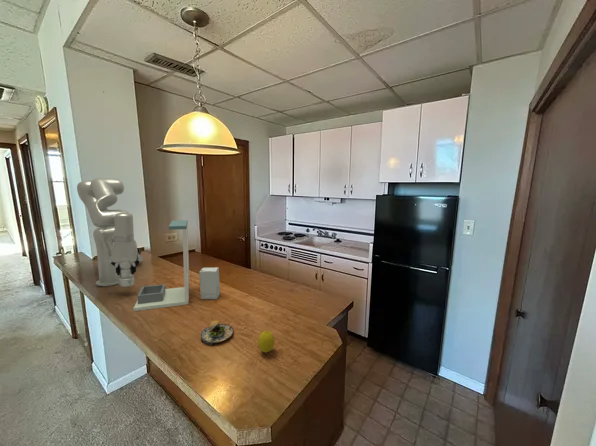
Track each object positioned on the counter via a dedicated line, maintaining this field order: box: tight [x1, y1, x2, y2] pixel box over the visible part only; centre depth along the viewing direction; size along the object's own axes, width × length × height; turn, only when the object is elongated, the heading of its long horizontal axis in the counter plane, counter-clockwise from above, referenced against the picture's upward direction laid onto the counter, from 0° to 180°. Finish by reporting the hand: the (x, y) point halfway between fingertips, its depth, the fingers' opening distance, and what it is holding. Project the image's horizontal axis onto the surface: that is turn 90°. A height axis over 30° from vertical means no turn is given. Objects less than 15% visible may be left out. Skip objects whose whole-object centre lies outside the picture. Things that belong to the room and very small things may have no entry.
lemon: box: [257, 330, 275, 354], centre depth 85 cm, size 6×6×8 cm
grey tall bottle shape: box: [118, 257, 135, 288], centre depth 123 cm, size 6×7×20 cm
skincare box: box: [198, 267, 221, 300], centre depth 125 cm, size 8×6×15 cm
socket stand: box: [132, 219, 190, 312], centre depth 119 cm, size 18×22×38 cm
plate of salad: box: [200, 318, 234, 347], centre depth 94 cm, size 12×12×8 cm
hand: (126, 273), depth 123 cm, fingers closed on grey tall bottle shape, 5 cm apart
